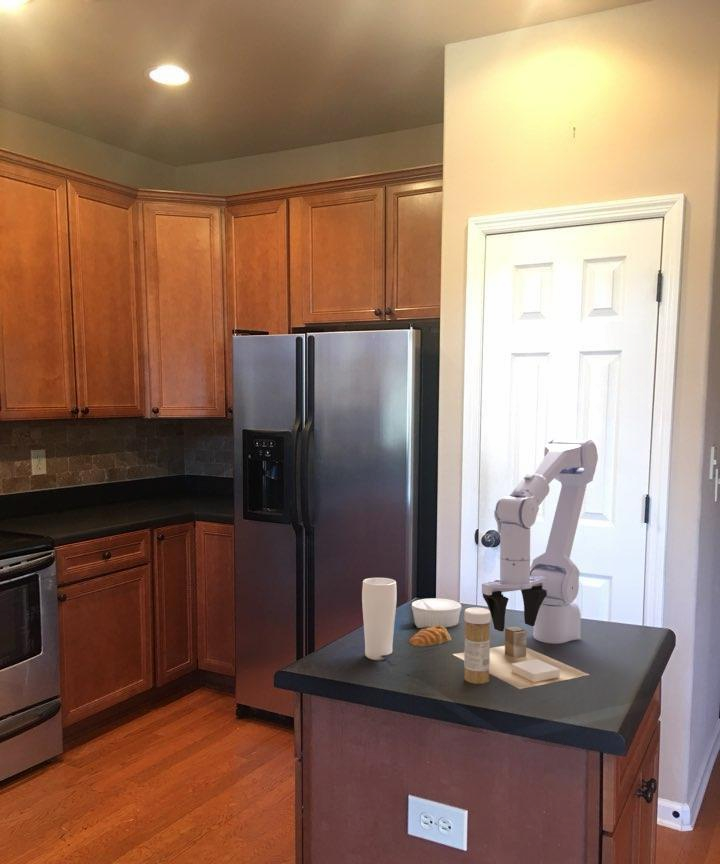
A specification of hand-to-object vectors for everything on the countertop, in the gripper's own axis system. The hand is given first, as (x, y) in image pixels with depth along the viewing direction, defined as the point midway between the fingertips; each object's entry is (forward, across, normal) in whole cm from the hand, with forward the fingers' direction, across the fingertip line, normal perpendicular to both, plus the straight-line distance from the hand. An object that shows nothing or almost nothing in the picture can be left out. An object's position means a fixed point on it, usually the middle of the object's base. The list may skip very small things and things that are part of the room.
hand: (514, 627), depth 139 cm
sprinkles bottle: (+6, -15, -8) cm, 18 cm away
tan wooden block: (+5, 0, 0) cm, 5 cm away
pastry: (+7, -10, +15) cm, 19 cm away
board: (+6, -3, -5) cm, 9 cm away
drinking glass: (+6, -23, +13) cm, 27 cm away
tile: (+4, -4, -8) cm, 10 cm away
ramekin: (+7, -1, +26) cm, 27 cm away
